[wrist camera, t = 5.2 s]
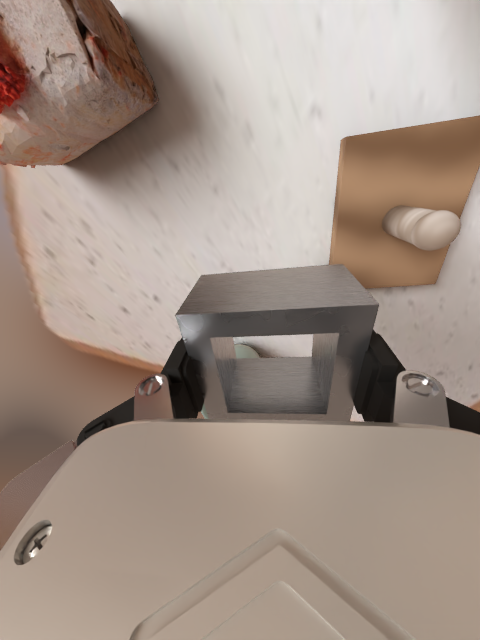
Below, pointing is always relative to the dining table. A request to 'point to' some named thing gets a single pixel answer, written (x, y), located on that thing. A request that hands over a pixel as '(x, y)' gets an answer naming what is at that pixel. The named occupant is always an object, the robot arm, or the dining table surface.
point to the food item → (66, 79)
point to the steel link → (279, 319)
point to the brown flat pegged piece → (402, 200)
